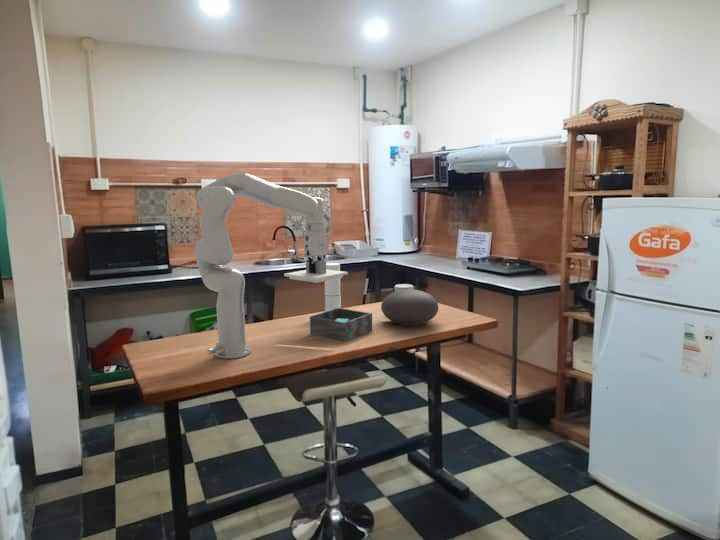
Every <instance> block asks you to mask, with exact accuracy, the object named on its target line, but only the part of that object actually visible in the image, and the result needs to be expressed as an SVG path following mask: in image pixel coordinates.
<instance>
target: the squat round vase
mask: <svg viewBox="0 0 720 540" xmlns="http://www.w3.org/2000/svg"><path fill="white" fill-rule="evenodd" d="M380 308H381V312H382V314H383V316H384V317H386V319H388V320H389V321H391V322H393V323H395V324H399V325H403V326H416V325H417V326H418V325H422V324H424V323H425V324H426V323H427V322H429V321H431V320H433V319H434V318H435V317H436V316H437V314H438V311H439V303H438V301H437V299H435V297H434V296H432V295H431V294H430V293H428V292H426V291H424V290H419V289H415V288H414V289H404V290H399V291H395V290H394V291H393V292H391V293H390V294H388V295H386V296H385V297H384V299H383V300H382V302H381V305H380Z"/></svg>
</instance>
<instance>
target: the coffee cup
mask: <svg viewBox="0 0 720 540" xmlns="http://www.w3.org/2000/svg"><path fill="white" fill-rule="evenodd" d="M414 287H415V286H414V285H413V284H411V283H410V284H409V283H403V284H402V283H399V284H395V286H394V287H393V288H394V292H395V291H399V290H404V289H414V290H415V288H414Z"/></svg>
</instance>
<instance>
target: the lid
mask: <svg viewBox="0 0 720 540" xmlns="http://www.w3.org/2000/svg"><path fill="white" fill-rule="evenodd" d="M314 263H315V264H316V273H310V272H309V263H308V261H307V260H305V269H304V270H303V269H302V270H297V271H291V272H286V273H284V274H283V276H284V277H287V278H289V280H294V281H301V282H303V281H304V282H310V283H316V284H319V283H323V282H325V281H328V280H332V279H337V278H340V279H342V278H343V277H344V276H345V275H348V274H349V273H348V271H342V270H340V271H335V270H327V269H326V263H327V261H326V260H324V261H320V260H317V259H315V262H314Z"/></svg>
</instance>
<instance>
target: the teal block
mask: <svg viewBox="0 0 720 540" xmlns="http://www.w3.org/2000/svg"><path fill="white" fill-rule="evenodd" d="M335 321H340V322H347V321H349V319H340V318H337V319H336V320H335Z"/></svg>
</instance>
